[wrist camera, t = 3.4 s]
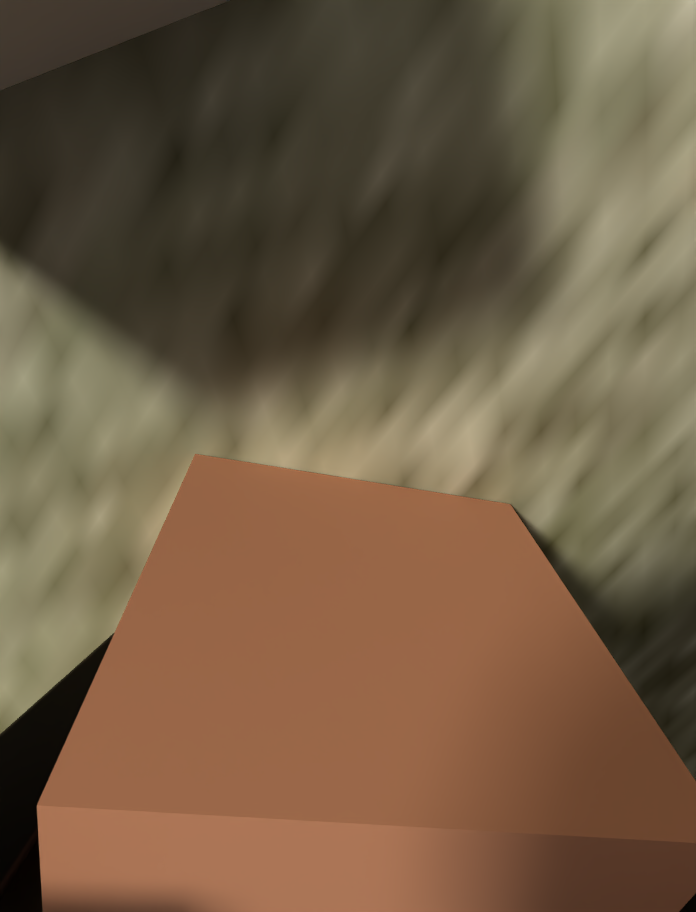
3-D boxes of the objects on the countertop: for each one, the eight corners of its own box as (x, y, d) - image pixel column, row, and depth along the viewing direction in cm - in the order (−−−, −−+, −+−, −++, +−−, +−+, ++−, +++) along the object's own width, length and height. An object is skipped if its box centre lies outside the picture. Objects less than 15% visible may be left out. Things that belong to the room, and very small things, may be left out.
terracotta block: (510, 504, 9) (738, 845, 4) (426, 714, 12) (513, 1096, 7) (195, 454, 8) (36, 805, 4) (170, 691, 11) (53, 1108, 6)
